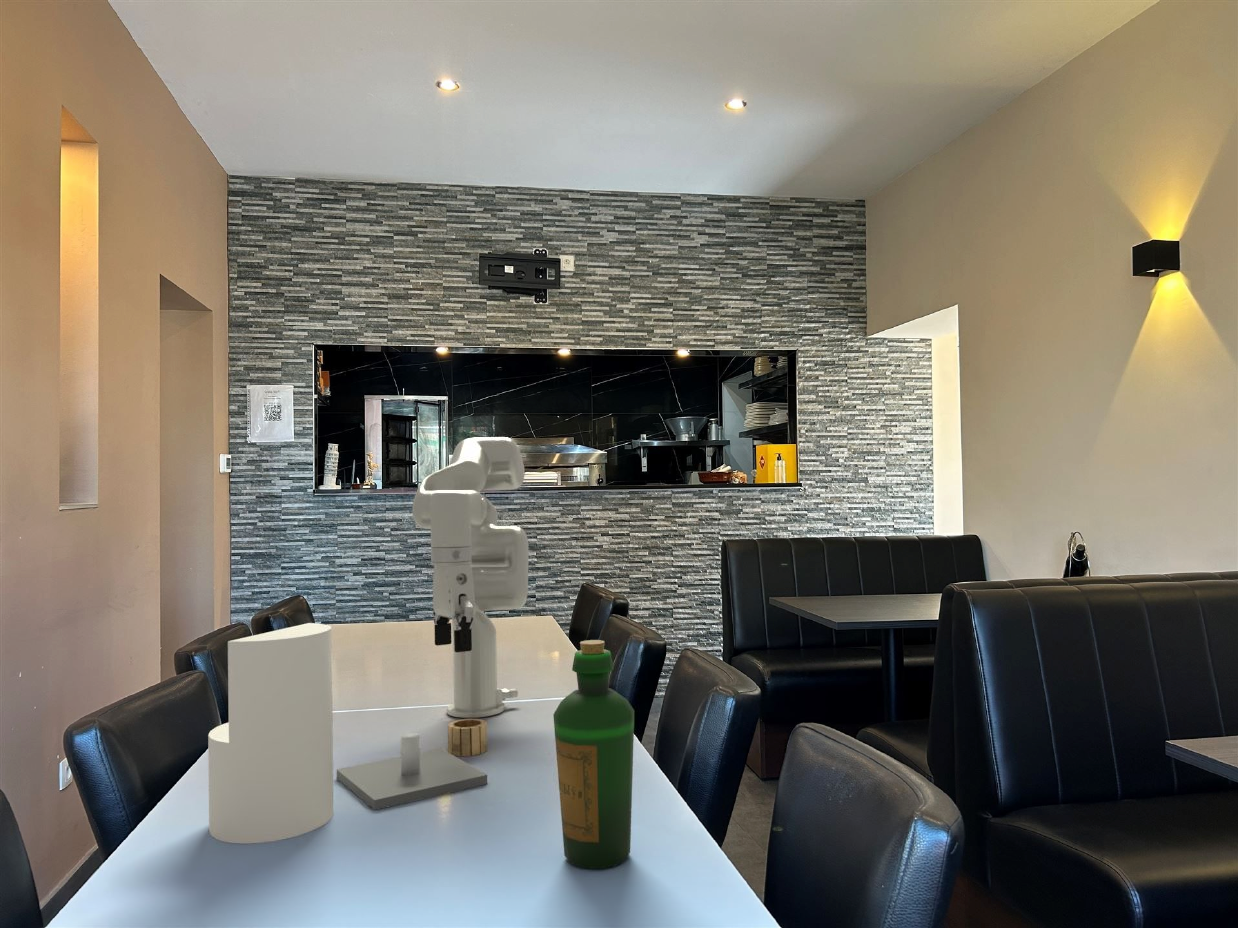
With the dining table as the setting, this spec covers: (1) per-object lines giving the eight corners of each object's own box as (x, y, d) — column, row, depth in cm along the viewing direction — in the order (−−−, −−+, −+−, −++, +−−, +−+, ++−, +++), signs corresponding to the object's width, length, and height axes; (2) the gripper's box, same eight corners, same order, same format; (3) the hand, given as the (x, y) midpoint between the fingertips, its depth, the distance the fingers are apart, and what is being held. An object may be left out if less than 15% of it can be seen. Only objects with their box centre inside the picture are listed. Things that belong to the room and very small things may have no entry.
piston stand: (441, 756, 160) (440, 715, 161) (487, 783, 145) (486, 737, 145) (336, 778, 149) (336, 733, 150) (374, 809, 134) (373, 760, 134)
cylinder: (357, 805, 136) (354, 624, 137) (280, 849, 120) (278, 643, 121) (266, 795, 142) (264, 621, 143) (181, 835, 125) (179, 639, 126)
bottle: (556, 843, 119) (551, 636, 120) (633, 838, 120) (628, 633, 121) (557, 877, 109) (552, 650, 110) (642, 872, 110) (636, 647, 111)
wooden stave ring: (476, 742, 169) (476, 716, 169) (493, 751, 163) (492, 724, 163) (442, 749, 165) (442, 722, 165) (458, 758, 159) (457, 730, 159)
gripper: (488, 557, 160) (490, 651, 159) (452, 553, 174) (454, 640, 174) (450, 559, 156) (451, 656, 155) (416, 555, 170) (417, 644, 170)
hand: (452, 647), depth 164 cm, fingers open, 9 cm apart
